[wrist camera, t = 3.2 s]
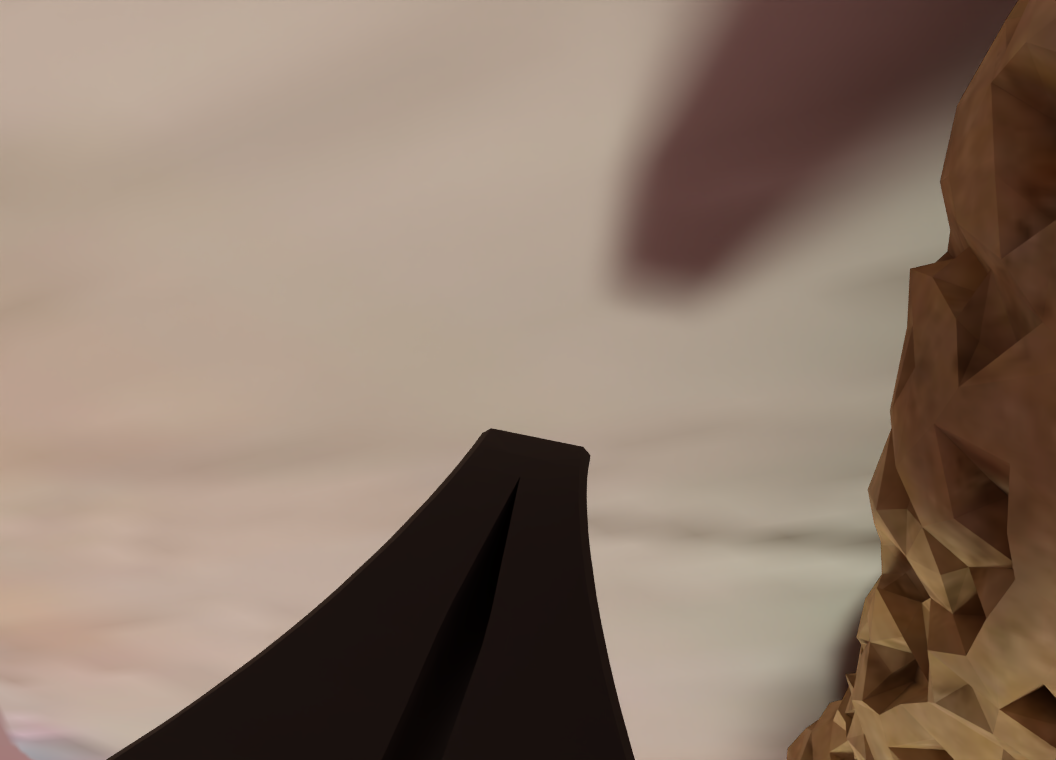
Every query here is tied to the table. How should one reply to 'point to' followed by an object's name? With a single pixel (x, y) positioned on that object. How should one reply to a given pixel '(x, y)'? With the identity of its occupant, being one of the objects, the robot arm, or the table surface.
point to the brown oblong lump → (971, 452)
